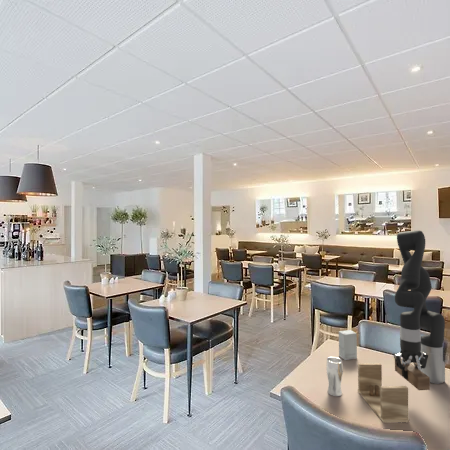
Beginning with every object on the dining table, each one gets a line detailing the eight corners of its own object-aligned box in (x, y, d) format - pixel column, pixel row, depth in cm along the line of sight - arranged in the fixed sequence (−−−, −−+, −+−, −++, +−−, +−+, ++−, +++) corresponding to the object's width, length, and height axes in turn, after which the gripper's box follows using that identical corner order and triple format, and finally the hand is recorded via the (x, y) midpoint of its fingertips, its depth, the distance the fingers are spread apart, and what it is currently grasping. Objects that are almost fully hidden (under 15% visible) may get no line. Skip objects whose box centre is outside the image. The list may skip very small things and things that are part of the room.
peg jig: (357, 391, 138) (357, 362, 138) (379, 391, 138) (379, 362, 138) (383, 422, 116) (383, 389, 116) (409, 422, 116) (408, 388, 116)
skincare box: (350, 354, 177) (350, 329, 177) (357, 359, 171) (357, 332, 171) (338, 356, 175) (338, 330, 175) (344, 360, 169) (344, 334, 169)
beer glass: (329, 387, 142) (329, 355, 142) (345, 392, 138) (344, 359, 138) (324, 393, 137) (324, 360, 137) (339, 399, 132) (339, 364, 132)
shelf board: (395, 370, 135) (394, 359, 135) (404, 370, 135) (404, 358, 135) (418, 390, 119) (418, 377, 119) (429, 389, 119) (429, 377, 119)
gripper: (420, 333, 131) (421, 373, 131) (388, 335, 130) (389, 374, 131) (433, 340, 123) (434, 382, 124) (398, 342, 123) (400, 383, 123)
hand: (411, 378), depth 127 cm, fingers closed on shelf board, 4 cm apart
